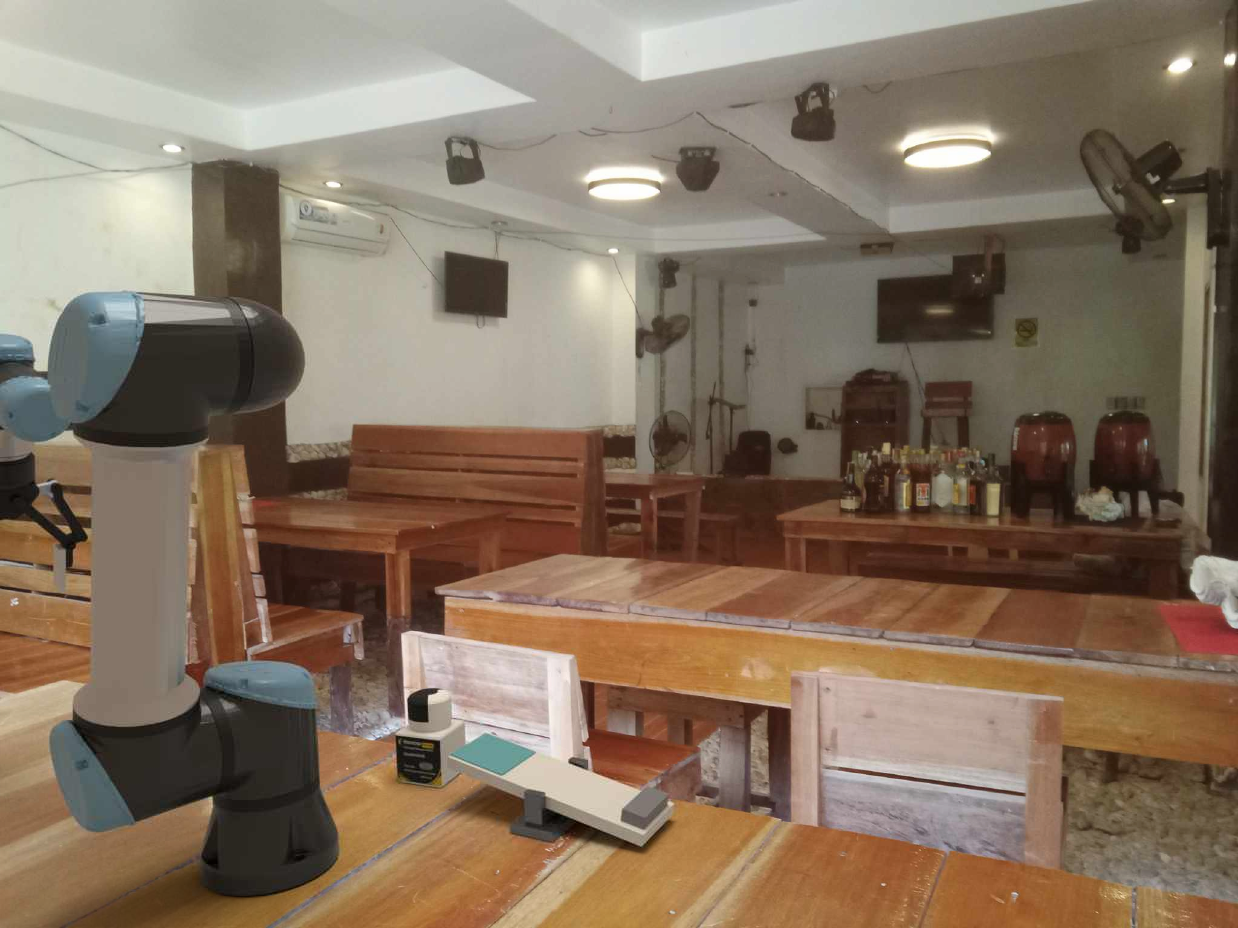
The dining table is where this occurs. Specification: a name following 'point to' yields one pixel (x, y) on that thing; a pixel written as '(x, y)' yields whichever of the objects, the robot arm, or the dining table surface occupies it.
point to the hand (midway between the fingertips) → (5, 598)
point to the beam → (565, 787)
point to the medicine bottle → (428, 739)
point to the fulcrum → (543, 814)
